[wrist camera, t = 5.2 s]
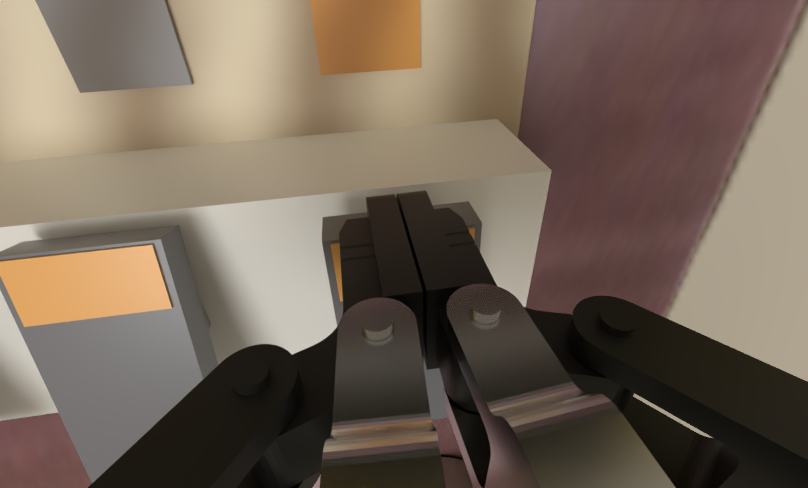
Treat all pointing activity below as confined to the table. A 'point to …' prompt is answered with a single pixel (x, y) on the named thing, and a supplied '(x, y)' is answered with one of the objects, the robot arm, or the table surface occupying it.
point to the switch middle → (110, 331)
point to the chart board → (250, 70)
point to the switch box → (268, 221)
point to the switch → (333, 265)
